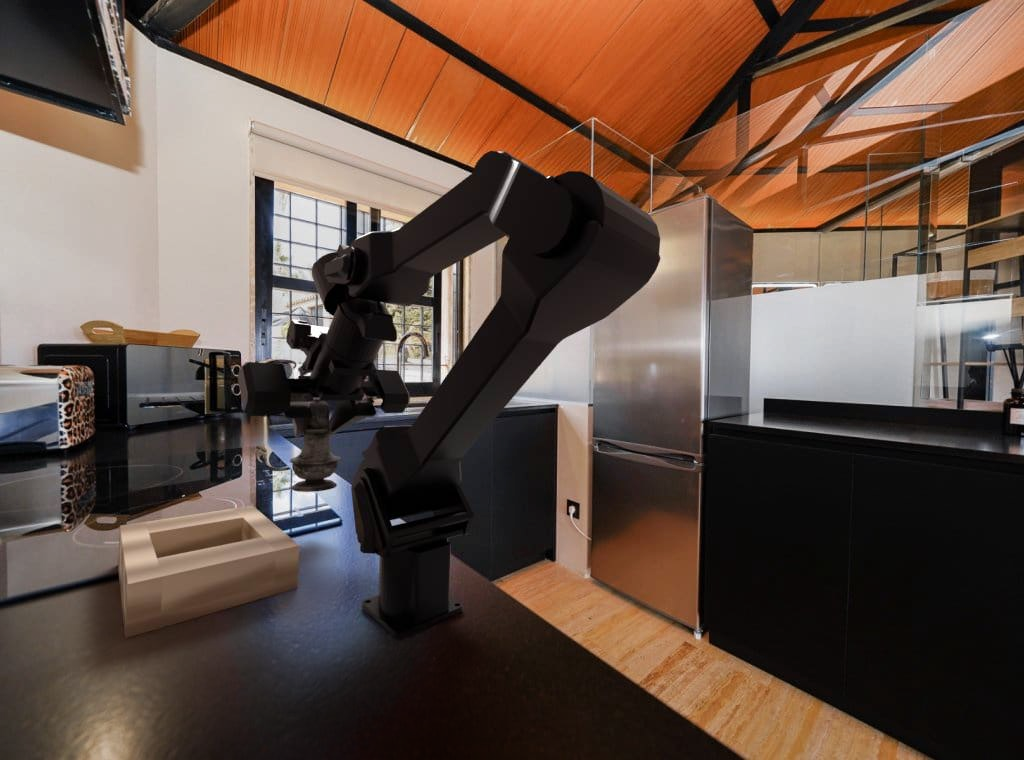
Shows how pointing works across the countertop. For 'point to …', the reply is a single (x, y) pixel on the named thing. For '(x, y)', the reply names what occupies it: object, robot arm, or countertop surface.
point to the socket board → (201, 566)
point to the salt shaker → (315, 453)
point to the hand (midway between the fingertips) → (312, 433)
